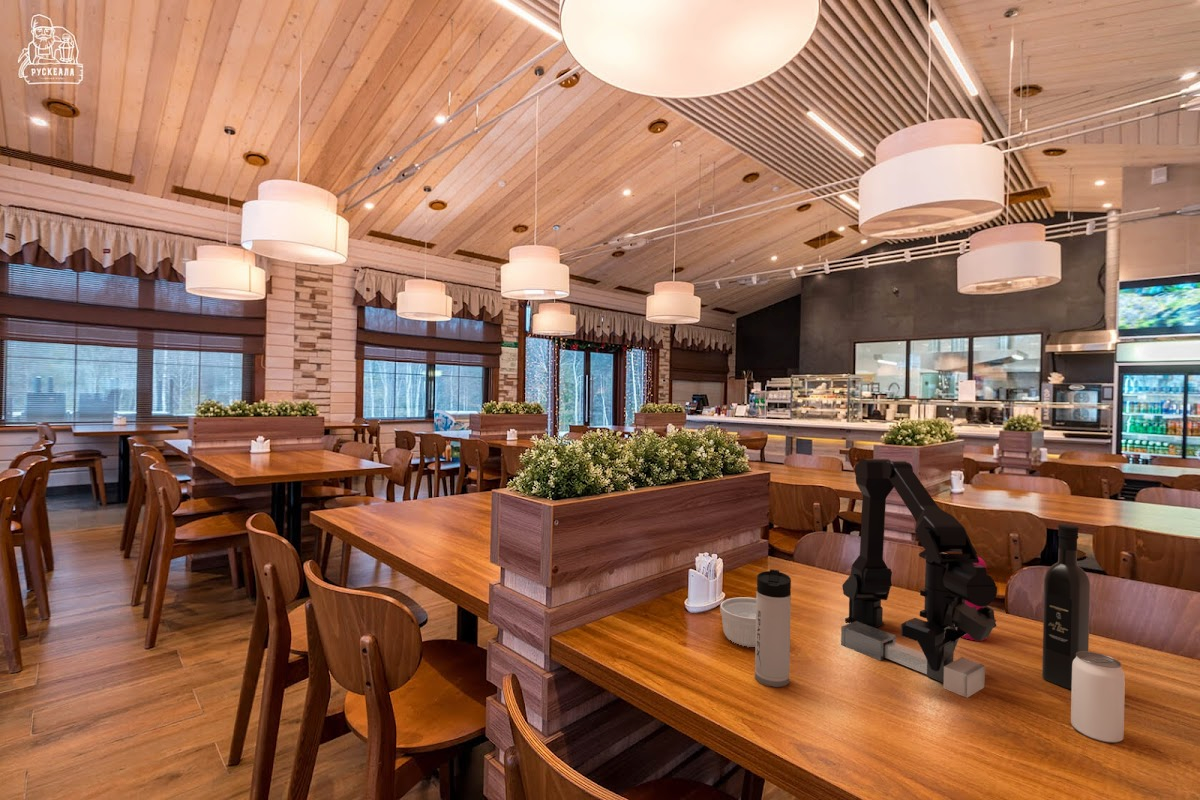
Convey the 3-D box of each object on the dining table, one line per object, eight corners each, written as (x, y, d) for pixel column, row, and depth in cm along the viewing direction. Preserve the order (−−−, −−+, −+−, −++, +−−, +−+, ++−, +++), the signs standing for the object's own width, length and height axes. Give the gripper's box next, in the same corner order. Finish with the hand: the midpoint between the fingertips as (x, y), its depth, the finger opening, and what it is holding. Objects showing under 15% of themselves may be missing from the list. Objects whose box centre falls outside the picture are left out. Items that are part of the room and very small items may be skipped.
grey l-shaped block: (880, 657, 118) (880, 623, 118) (890, 652, 120) (890, 619, 120) (963, 690, 105) (964, 652, 105) (973, 685, 107) (973, 647, 107)
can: (1060, 721, 96) (1061, 650, 96) (1095, 720, 96) (1097, 649, 96) (1097, 745, 89) (1098, 668, 89) (1135, 743, 90) (1136, 667, 90)
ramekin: (714, 644, 123) (715, 612, 123) (725, 622, 136) (725, 593, 136) (778, 656, 118) (779, 622, 118) (783, 632, 131) (783, 601, 131)
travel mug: (789, 674, 111) (791, 571, 110) (789, 690, 104) (791, 581, 104) (756, 668, 113) (758, 567, 112) (753, 684, 106) (755, 577, 106)
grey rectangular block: (943, 688, 106) (943, 666, 106) (961, 678, 110) (961, 657, 110) (966, 697, 103) (967, 675, 103) (984, 687, 107) (984, 665, 107)
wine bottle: (1074, 692, 105) (1078, 530, 105) (1039, 678, 110) (1043, 524, 110) (1090, 685, 108) (1093, 527, 108) (1054, 672, 113) (1058, 521, 113)
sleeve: (841, 644, 124) (841, 626, 124) (855, 638, 127) (856, 621, 127) (880, 660, 117) (880, 641, 117) (895, 654, 120) (895, 635, 120)
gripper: (964, 610, 98) (962, 700, 98) (1010, 590, 108) (1008, 672, 108) (900, 591, 107) (898, 673, 107) (948, 574, 117) (946, 650, 118)
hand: (940, 667), depth 110 cm, fingers closed on grey l-shaped block, 4 cm apart
